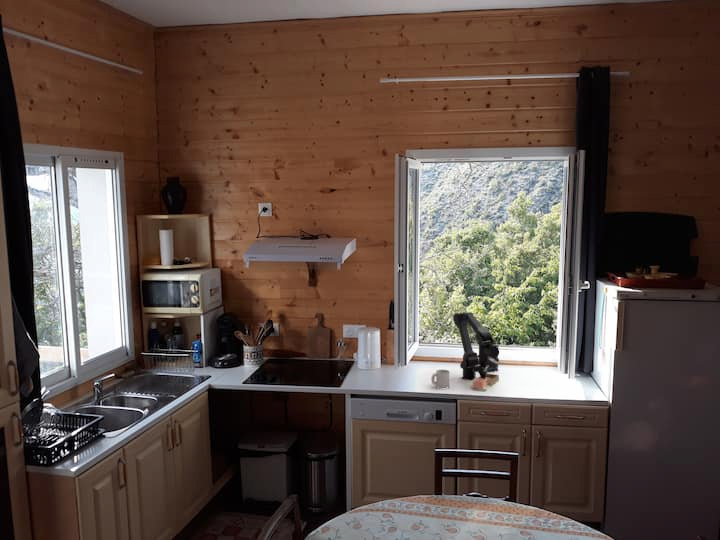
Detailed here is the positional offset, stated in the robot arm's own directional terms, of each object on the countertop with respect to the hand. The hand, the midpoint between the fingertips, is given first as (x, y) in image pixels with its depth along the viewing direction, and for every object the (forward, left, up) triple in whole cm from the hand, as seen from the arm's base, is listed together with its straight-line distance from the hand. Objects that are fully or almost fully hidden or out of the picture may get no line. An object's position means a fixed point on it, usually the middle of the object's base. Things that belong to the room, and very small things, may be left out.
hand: (483, 380), depth 338 cm
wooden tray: (0, +2, -3) cm, 4 cm away
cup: (-20, -14, -3) cm, 25 cm away
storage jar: (-7, +32, -3) cm, 33 cm away
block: (0, -6, -2) cm, 7 cm away
